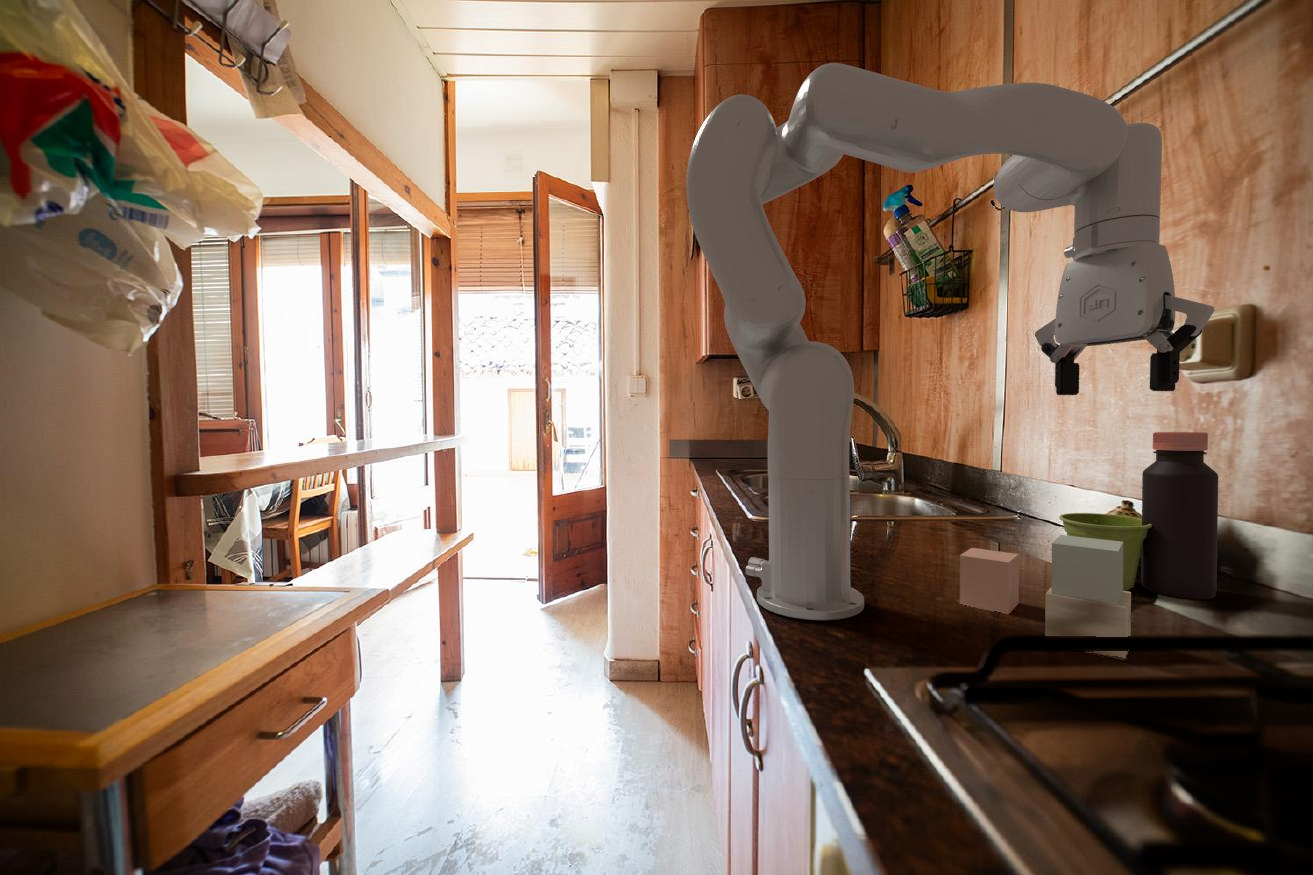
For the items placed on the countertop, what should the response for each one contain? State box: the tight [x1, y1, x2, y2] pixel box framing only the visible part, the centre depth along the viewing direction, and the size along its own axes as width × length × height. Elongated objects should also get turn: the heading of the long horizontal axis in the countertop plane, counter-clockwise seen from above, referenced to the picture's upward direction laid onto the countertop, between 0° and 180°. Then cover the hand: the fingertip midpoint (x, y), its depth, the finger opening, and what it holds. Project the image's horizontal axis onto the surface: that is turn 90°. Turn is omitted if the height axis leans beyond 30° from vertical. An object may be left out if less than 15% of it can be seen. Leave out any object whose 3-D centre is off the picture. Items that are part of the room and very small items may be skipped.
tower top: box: [1051, 534, 1123, 605], centre depth 53 cm, size 5×5×5 cm
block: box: [959, 547, 1020, 615], centre depth 65 cm, size 5×5×6 cm
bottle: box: [1140, 431, 1219, 601], centre depth 67 cm, size 7×7×20 cm
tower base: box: [1044, 585, 1132, 659], centre depth 53 cm, size 6×6×5 cm
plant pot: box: [1058, 512, 1152, 591], centre depth 71 cm, size 9×9×9 cm
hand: (1111, 393), depth 62 cm, fingers open, 9 cm apart
